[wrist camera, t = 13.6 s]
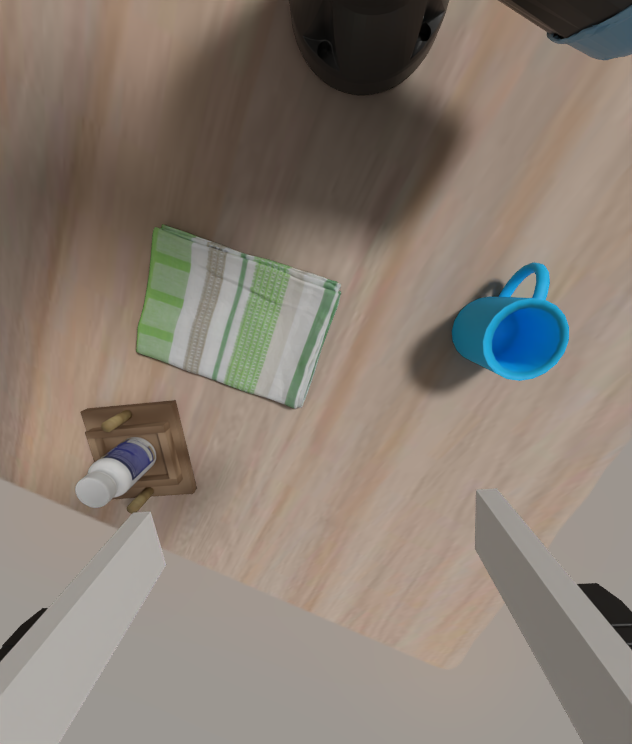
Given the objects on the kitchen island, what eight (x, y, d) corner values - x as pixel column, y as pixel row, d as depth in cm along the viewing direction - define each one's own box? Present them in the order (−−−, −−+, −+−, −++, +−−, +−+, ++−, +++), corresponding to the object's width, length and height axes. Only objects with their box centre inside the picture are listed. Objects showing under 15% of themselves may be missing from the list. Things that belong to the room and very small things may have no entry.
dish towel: (302, 407, 42) (300, 418, 39) (140, 354, 42) (123, 360, 38) (344, 284, 38) (346, 284, 35) (164, 222, 37) (147, 215, 34)
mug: (501, 370, 39) (544, 390, 32) (441, 351, 39) (469, 367, 31) (546, 276, 36) (606, 272, 28) (481, 255, 36) (523, 245, 28)
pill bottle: (125, 430, 43) (73, 465, 34) (161, 444, 43) (119, 482, 34) (117, 461, 44) (65, 503, 35) (152, 474, 44) (109, 519, 36)
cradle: (87, 408, 43) (55, 424, 38) (175, 400, 42) (154, 415, 37) (114, 494, 47) (88, 518, 42) (196, 488, 46) (180, 512, 41)
